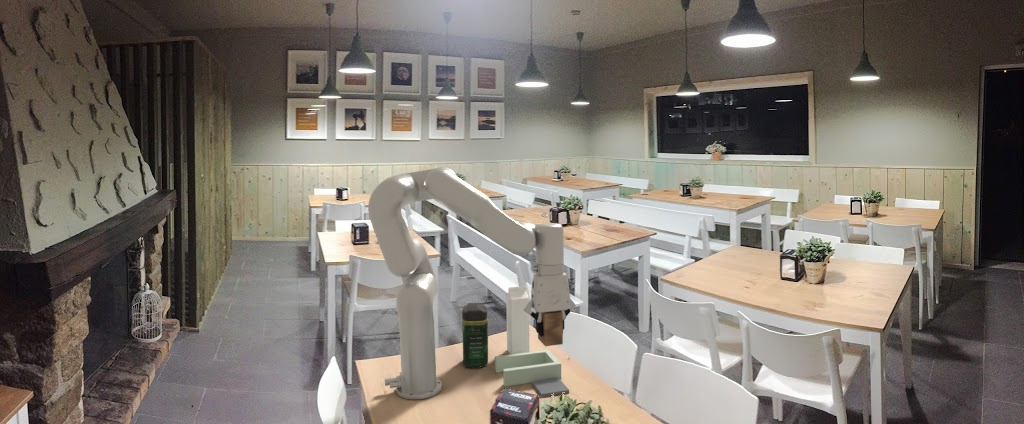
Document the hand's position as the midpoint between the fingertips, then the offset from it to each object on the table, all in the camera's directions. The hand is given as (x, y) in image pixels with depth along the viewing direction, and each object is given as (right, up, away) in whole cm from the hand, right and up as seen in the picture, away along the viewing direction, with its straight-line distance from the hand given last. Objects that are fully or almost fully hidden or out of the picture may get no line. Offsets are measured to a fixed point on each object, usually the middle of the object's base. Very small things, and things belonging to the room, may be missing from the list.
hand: (550, 332), depth 149 cm
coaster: (0, -16, +2) cm, 16 cm away
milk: (-8, -13, +28) cm, 32 cm away
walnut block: (0, -2, 0) cm, 2 cm away
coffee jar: (-22, -14, +20) cm, 33 cm away
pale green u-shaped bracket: (-7, -15, +11) cm, 20 cm away
